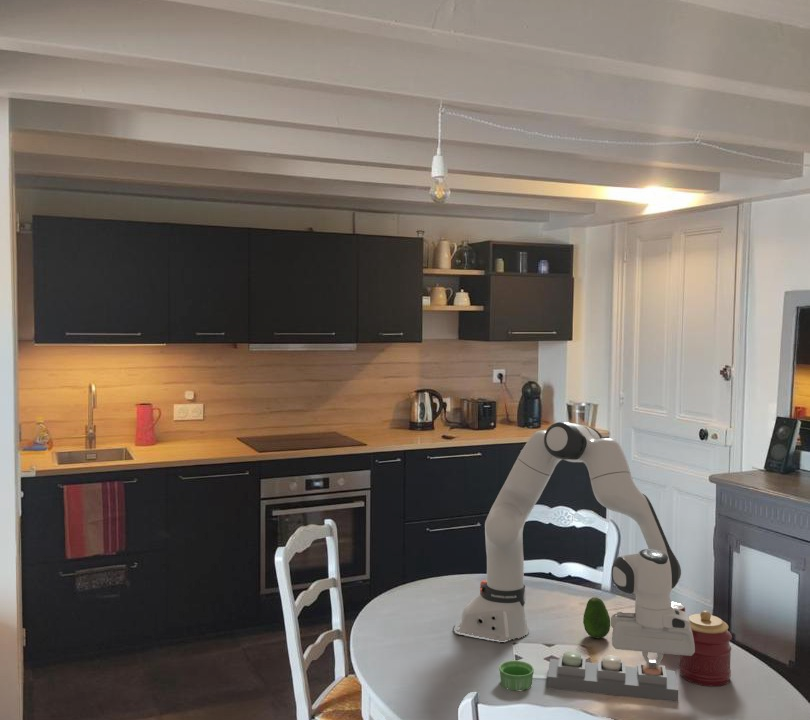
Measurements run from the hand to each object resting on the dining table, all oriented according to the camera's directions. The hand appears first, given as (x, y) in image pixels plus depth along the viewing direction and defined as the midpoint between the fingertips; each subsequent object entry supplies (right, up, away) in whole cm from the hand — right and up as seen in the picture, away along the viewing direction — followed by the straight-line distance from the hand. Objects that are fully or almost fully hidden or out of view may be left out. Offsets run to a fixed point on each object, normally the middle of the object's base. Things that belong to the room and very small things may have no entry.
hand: (652, 667), depth 207 cm
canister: (+16, -5, +8) cm, 19 cm away
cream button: (-10, -1, +2) cm, 10 cm away
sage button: (-20, -1, +5) cm, 20 cm away
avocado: (-7, -4, +33) cm, 34 cm away
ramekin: (-34, -6, +4) cm, 35 cm away
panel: (-10, -5, +3) cm, 12 cm away
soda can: (+14, -4, +27) cm, 30 cm away
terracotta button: (0, -2, 0) cm, 2 cm away
